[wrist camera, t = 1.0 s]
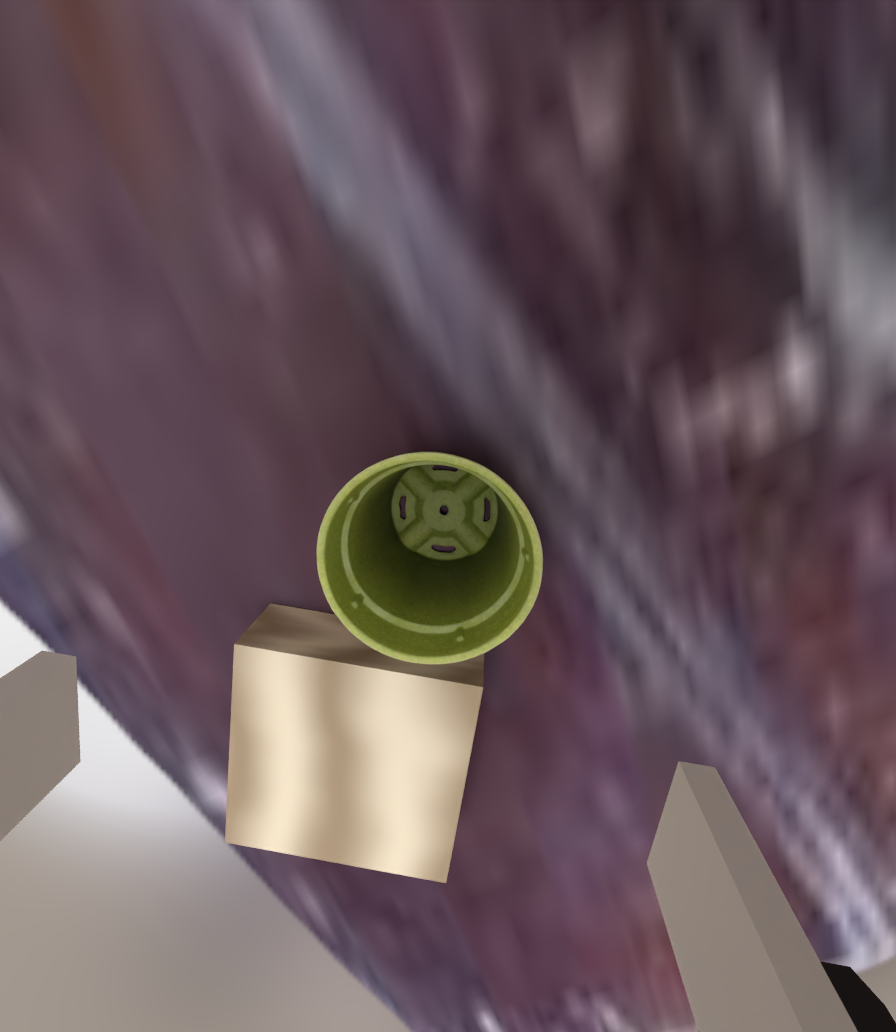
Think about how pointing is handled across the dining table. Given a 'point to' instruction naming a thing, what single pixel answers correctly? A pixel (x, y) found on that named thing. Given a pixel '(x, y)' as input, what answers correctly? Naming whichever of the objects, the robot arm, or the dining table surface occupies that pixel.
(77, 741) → the robot arm
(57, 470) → the dining table surface
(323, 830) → the ash block
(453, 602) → the plant pot
